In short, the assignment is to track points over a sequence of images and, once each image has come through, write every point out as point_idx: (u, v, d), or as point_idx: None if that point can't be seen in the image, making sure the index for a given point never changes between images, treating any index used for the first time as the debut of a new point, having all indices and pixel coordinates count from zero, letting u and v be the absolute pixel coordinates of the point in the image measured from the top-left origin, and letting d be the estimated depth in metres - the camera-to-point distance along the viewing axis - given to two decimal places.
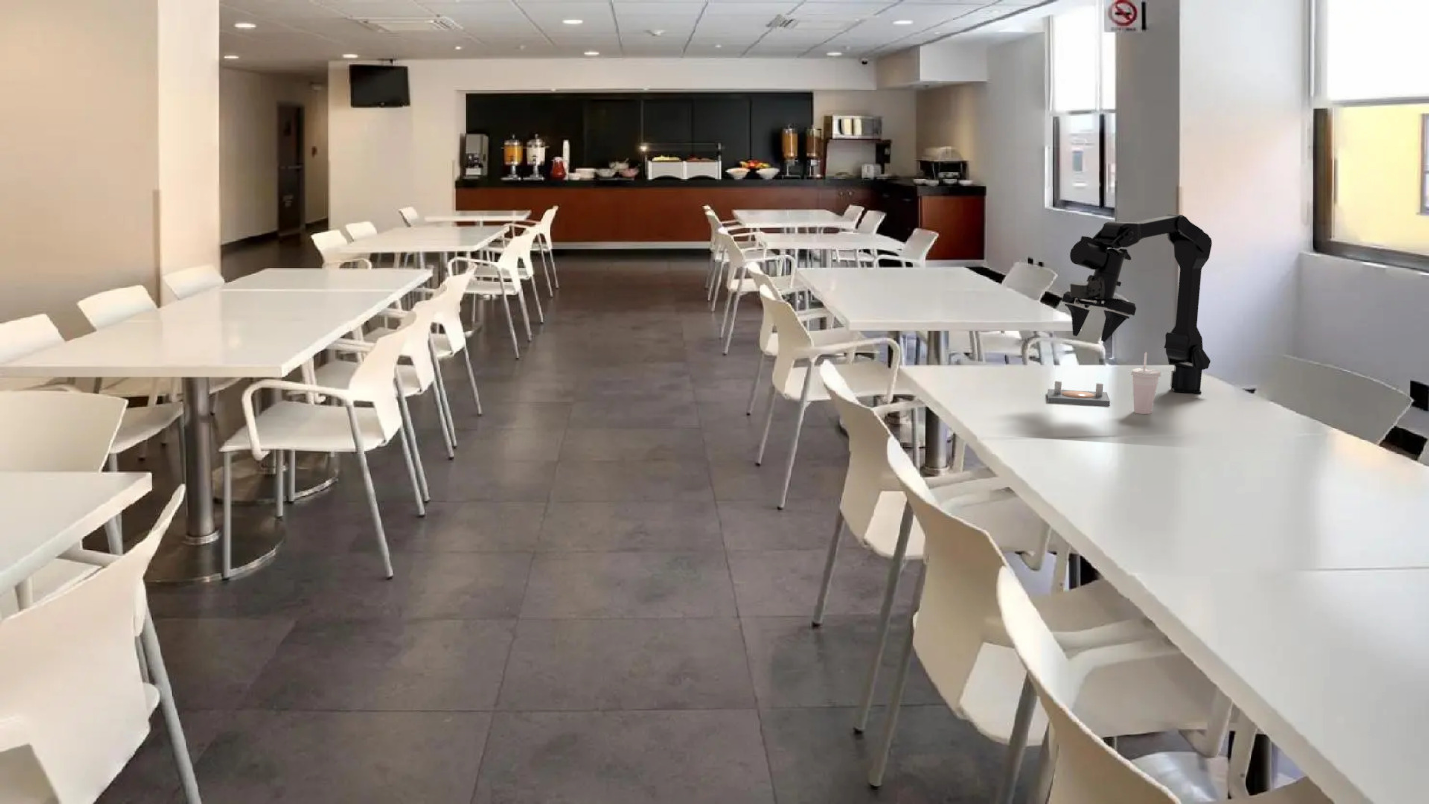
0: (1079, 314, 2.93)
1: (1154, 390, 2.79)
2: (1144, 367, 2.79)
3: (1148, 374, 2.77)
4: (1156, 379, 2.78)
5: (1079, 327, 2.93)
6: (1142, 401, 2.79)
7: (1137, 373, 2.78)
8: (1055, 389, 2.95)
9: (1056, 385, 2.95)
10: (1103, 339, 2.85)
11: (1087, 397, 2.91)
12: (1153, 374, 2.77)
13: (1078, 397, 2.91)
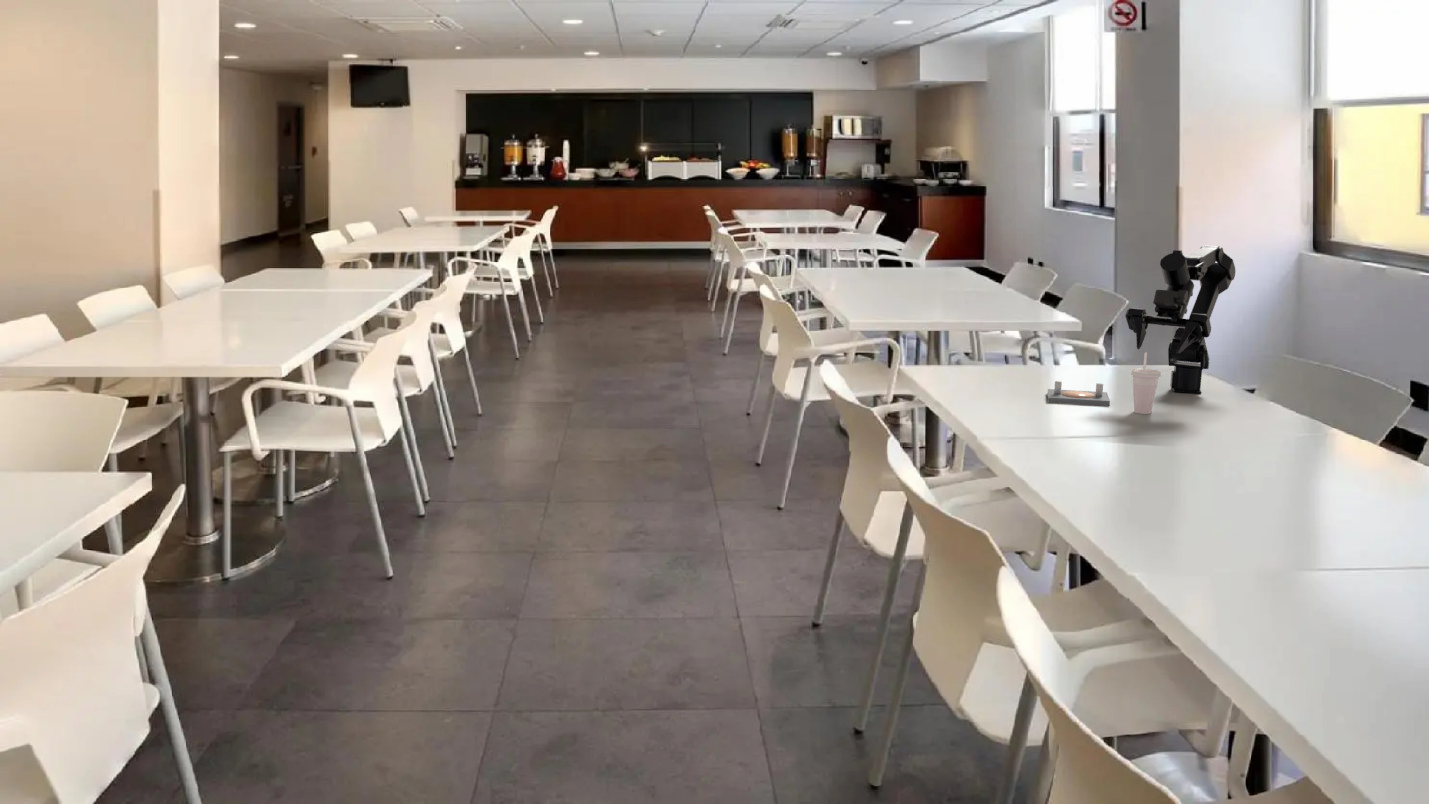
0: (1143, 330, 2.90)
1: (1154, 390, 2.79)
2: (1144, 367, 2.79)
3: (1148, 374, 2.77)
4: (1156, 379, 2.78)
5: (1141, 342, 2.89)
6: (1142, 401, 2.79)
7: (1137, 373, 2.78)
8: (1055, 389, 2.95)
9: (1056, 385, 2.95)
10: (1179, 350, 2.82)
11: (1087, 397, 2.91)
12: (1153, 374, 2.77)
13: (1078, 397, 2.91)
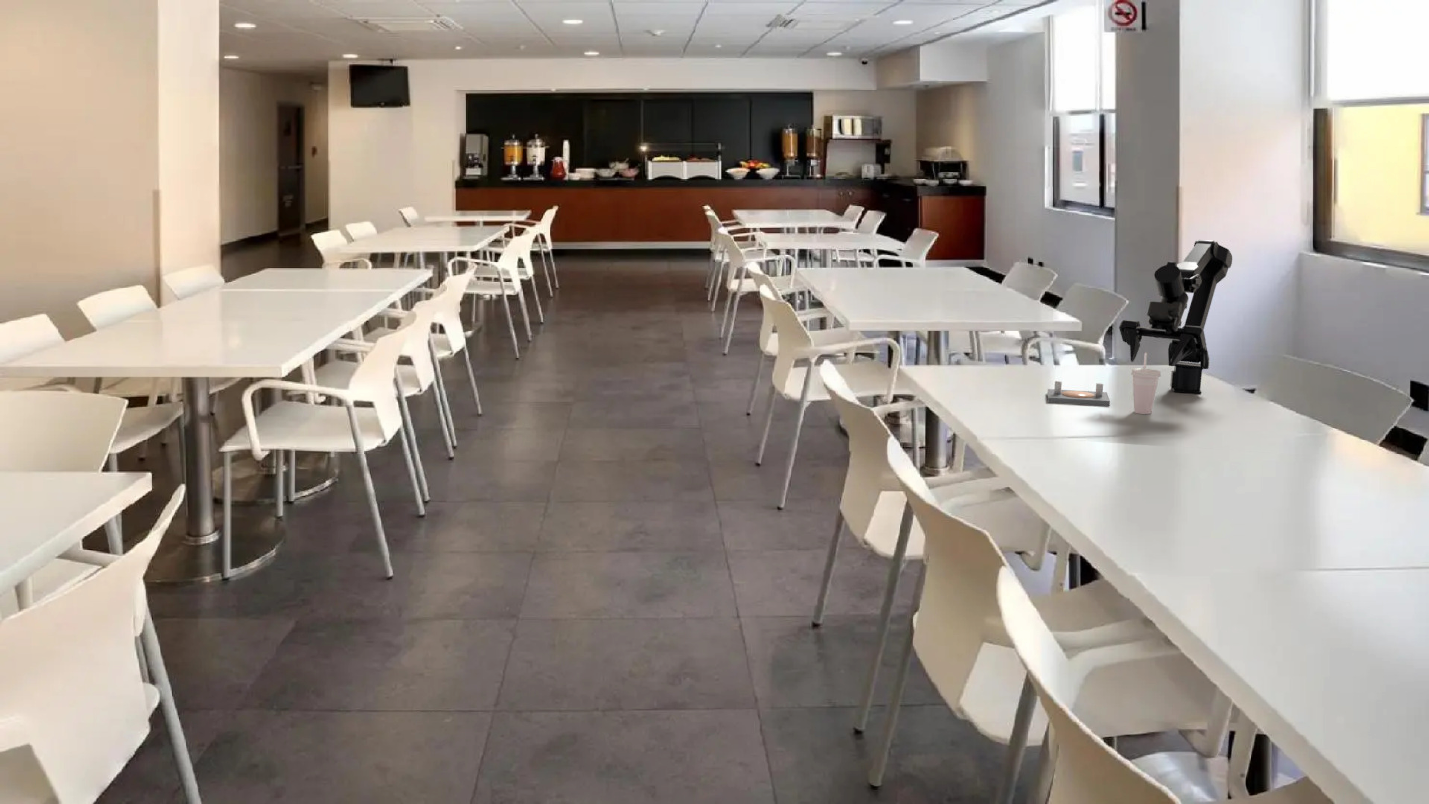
0: (1136, 342, 2.87)
1: (1154, 390, 2.79)
2: (1144, 367, 2.79)
3: (1148, 374, 2.77)
4: (1156, 379, 2.78)
5: (1135, 354, 2.86)
6: (1142, 401, 2.79)
7: (1137, 373, 2.78)
8: (1055, 389, 2.95)
9: (1056, 385, 2.95)
10: (1173, 362, 2.79)
11: (1087, 397, 2.91)
12: (1153, 374, 2.77)
13: (1078, 397, 2.91)
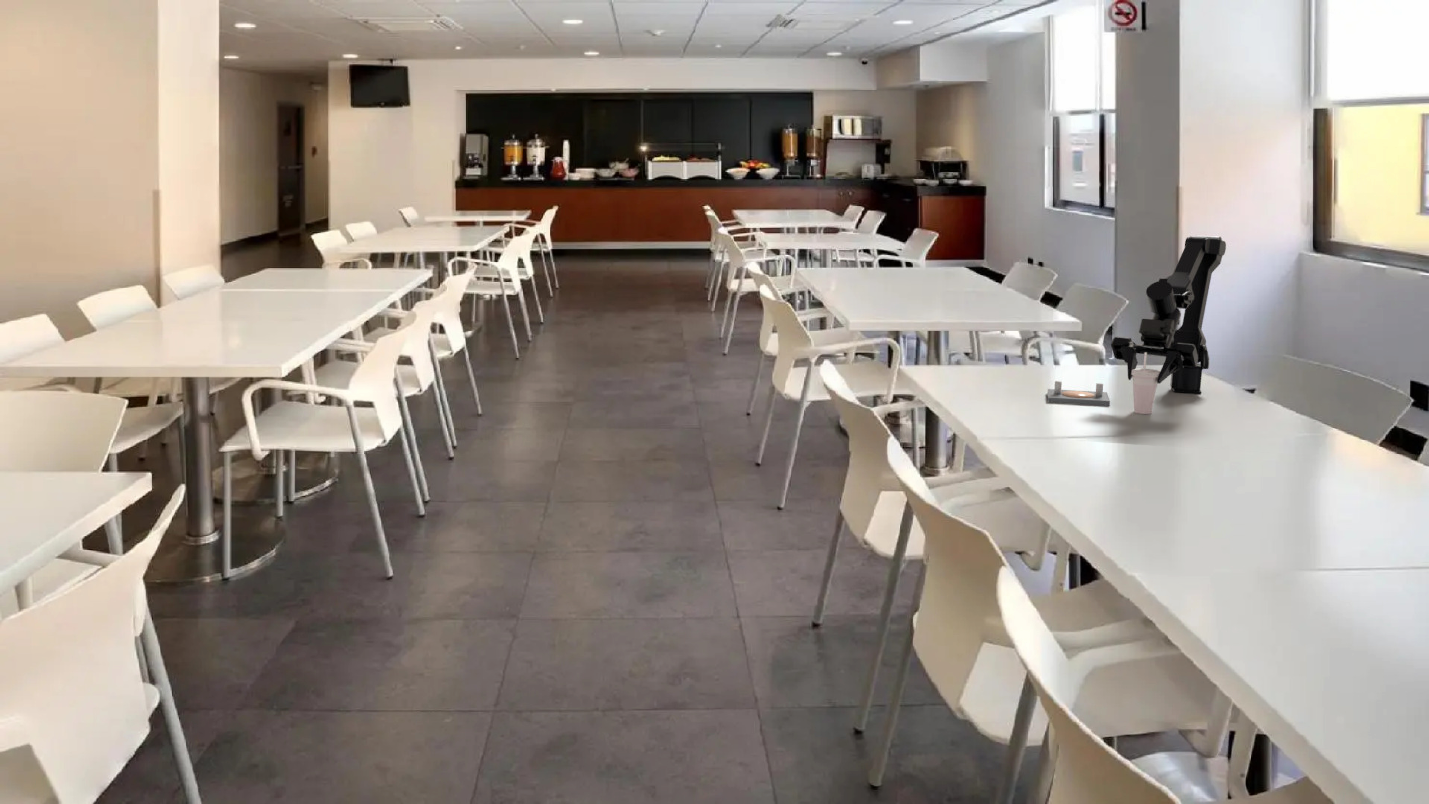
0: (1134, 360, 2.83)
1: (1154, 390, 2.79)
2: (1144, 367, 2.79)
3: (1148, 374, 2.77)
4: (1156, 379, 2.78)
5: None
6: (1142, 401, 2.79)
7: (1137, 373, 2.78)
8: (1055, 389, 2.95)
9: (1056, 385, 2.95)
10: (1159, 380, 2.77)
11: (1087, 397, 2.91)
12: (1153, 374, 2.77)
13: (1078, 397, 2.91)
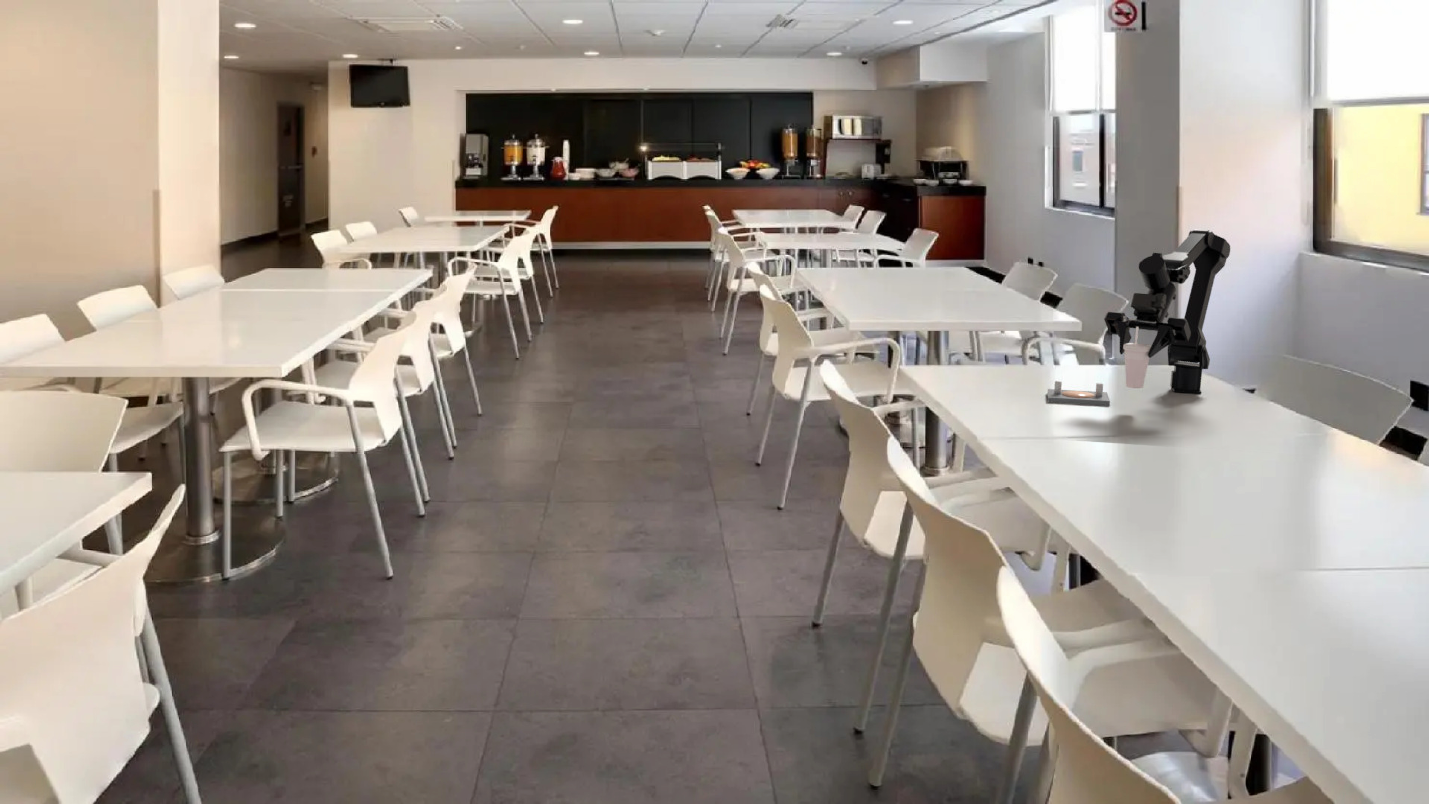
0: (1127, 335, 2.84)
1: (1145, 364, 2.79)
2: (1136, 341, 2.79)
3: (1139, 348, 2.77)
4: (1147, 353, 2.78)
5: None
6: (1133, 375, 2.80)
7: (1128, 347, 2.79)
8: (1055, 389, 2.95)
9: (1056, 385, 2.95)
10: (1150, 354, 2.77)
11: (1087, 397, 2.91)
12: (1144, 348, 2.77)
13: (1078, 397, 2.91)
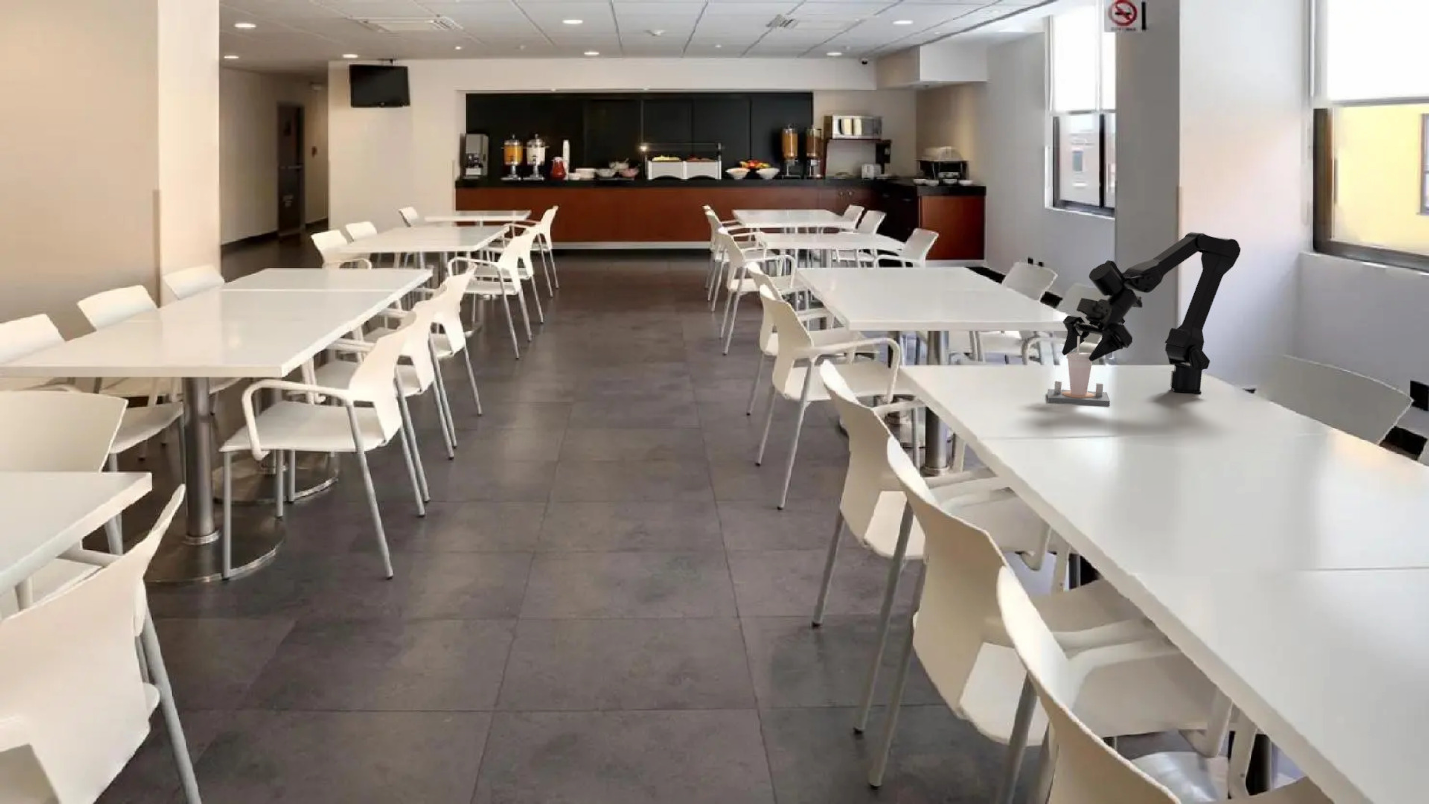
0: (1074, 337, 2.97)
1: (1085, 373, 2.91)
2: (1077, 350, 2.92)
3: (1075, 357, 2.90)
4: (1085, 362, 2.90)
5: (1070, 348, 2.97)
6: (1073, 383, 2.93)
7: (1068, 356, 2.92)
8: (1055, 389, 2.95)
9: (1056, 385, 2.95)
10: (1091, 357, 2.88)
11: (1087, 397, 2.91)
12: (1080, 357, 2.90)
13: (1078, 397, 2.91)
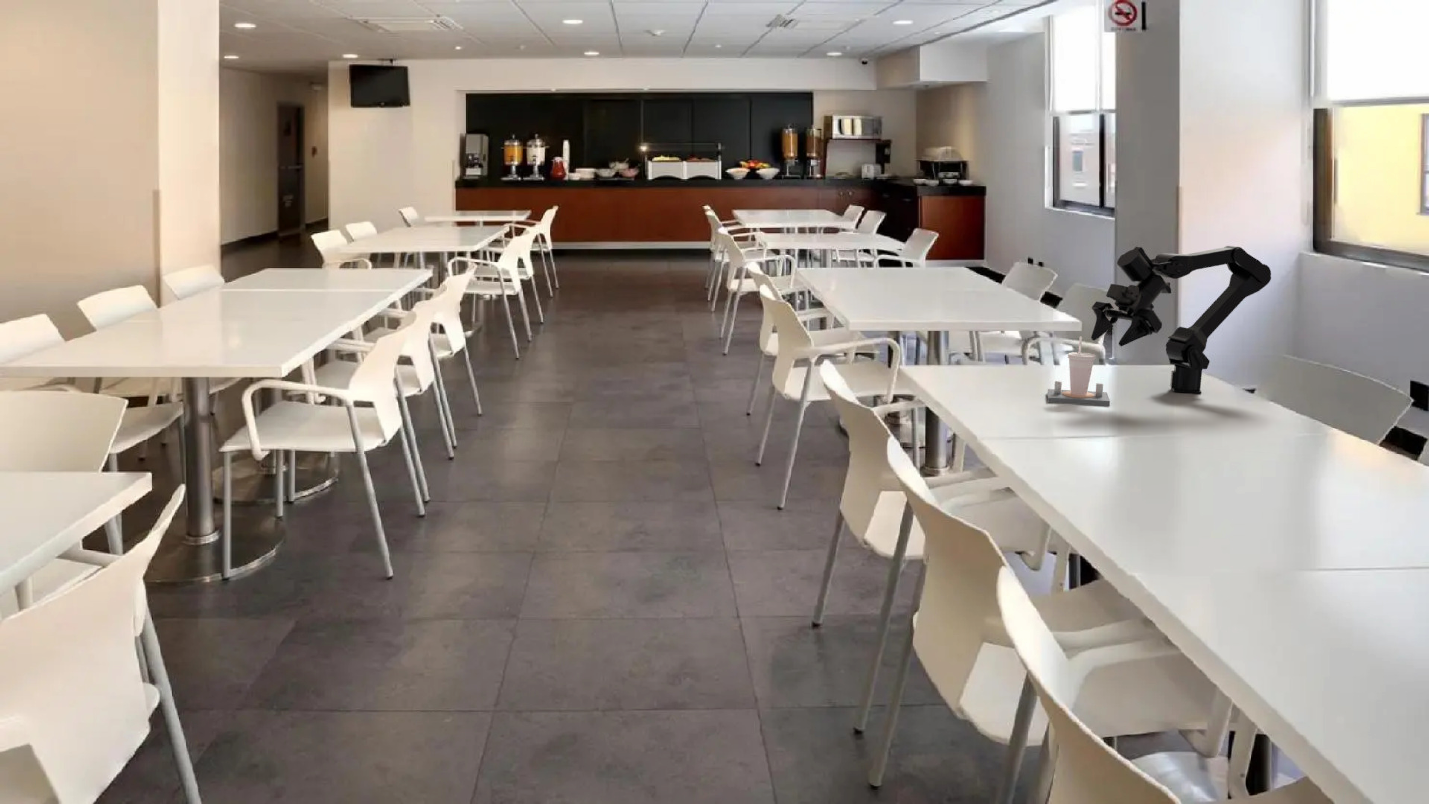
0: (1103, 323, 3.01)
1: (1085, 373, 2.91)
2: (1079, 350, 2.92)
3: (1077, 357, 2.90)
4: (1086, 362, 2.90)
5: (1099, 334, 3.00)
6: (1074, 382, 2.93)
7: (1069, 355, 2.92)
8: (1055, 389, 2.95)
9: (1056, 385, 2.95)
10: (1121, 343, 2.91)
11: (1087, 397, 2.91)
12: (1082, 357, 2.90)
13: (1078, 397, 2.91)
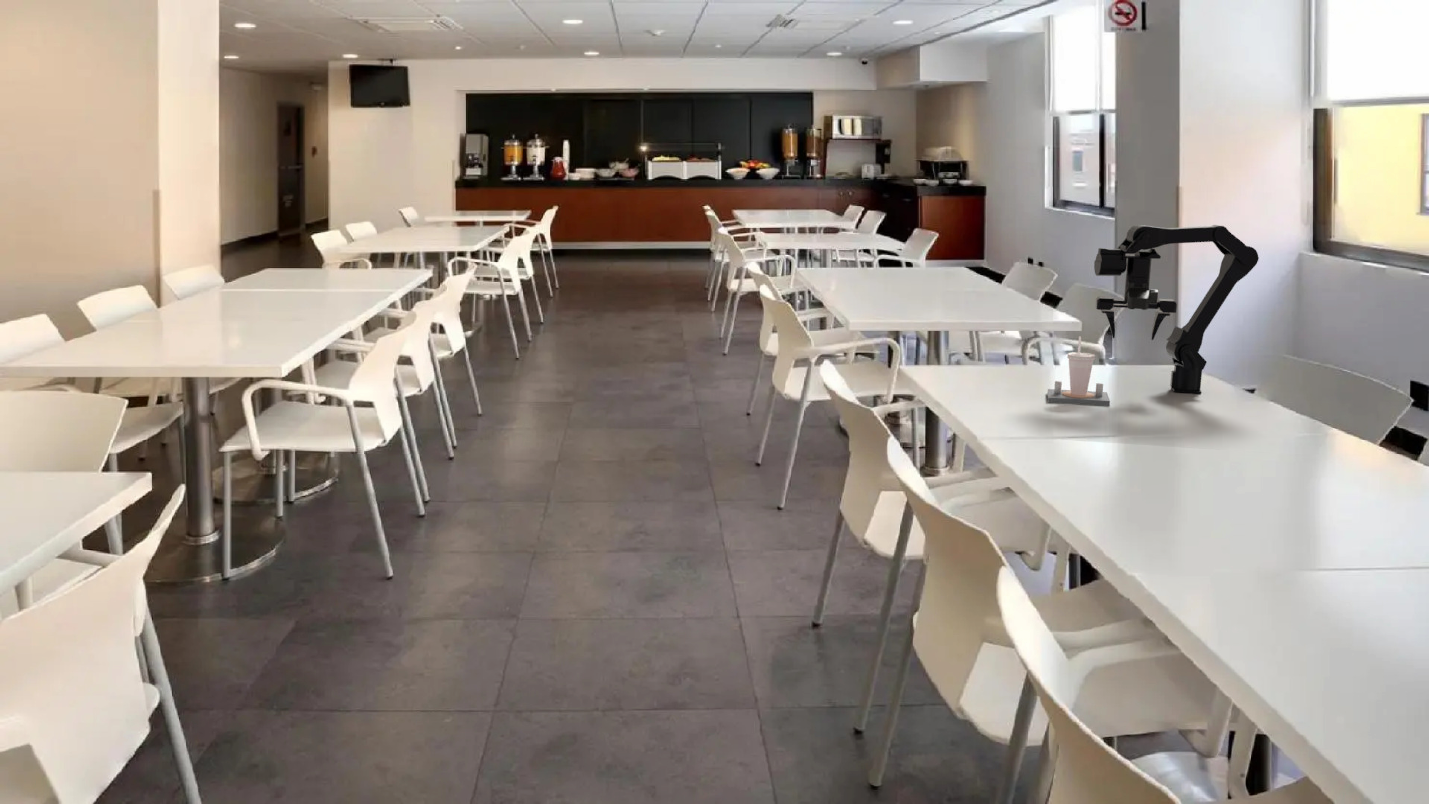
0: None
1: (1085, 373, 2.91)
2: (1078, 350, 2.92)
3: (1076, 357, 2.90)
4: (1086, 362, 2.90)
5: None
6: (1073, 382, 2.93)
7: (1068, 355, 2.92)
8: (1055, 389, 2.95)
9: (1056, 385, 2.95)
10: (1153, 338, 3.04)
11: (1087, 397, 2.91)
12: (1081, 357, 2.90)
13: (1078, 397, 2.91)
